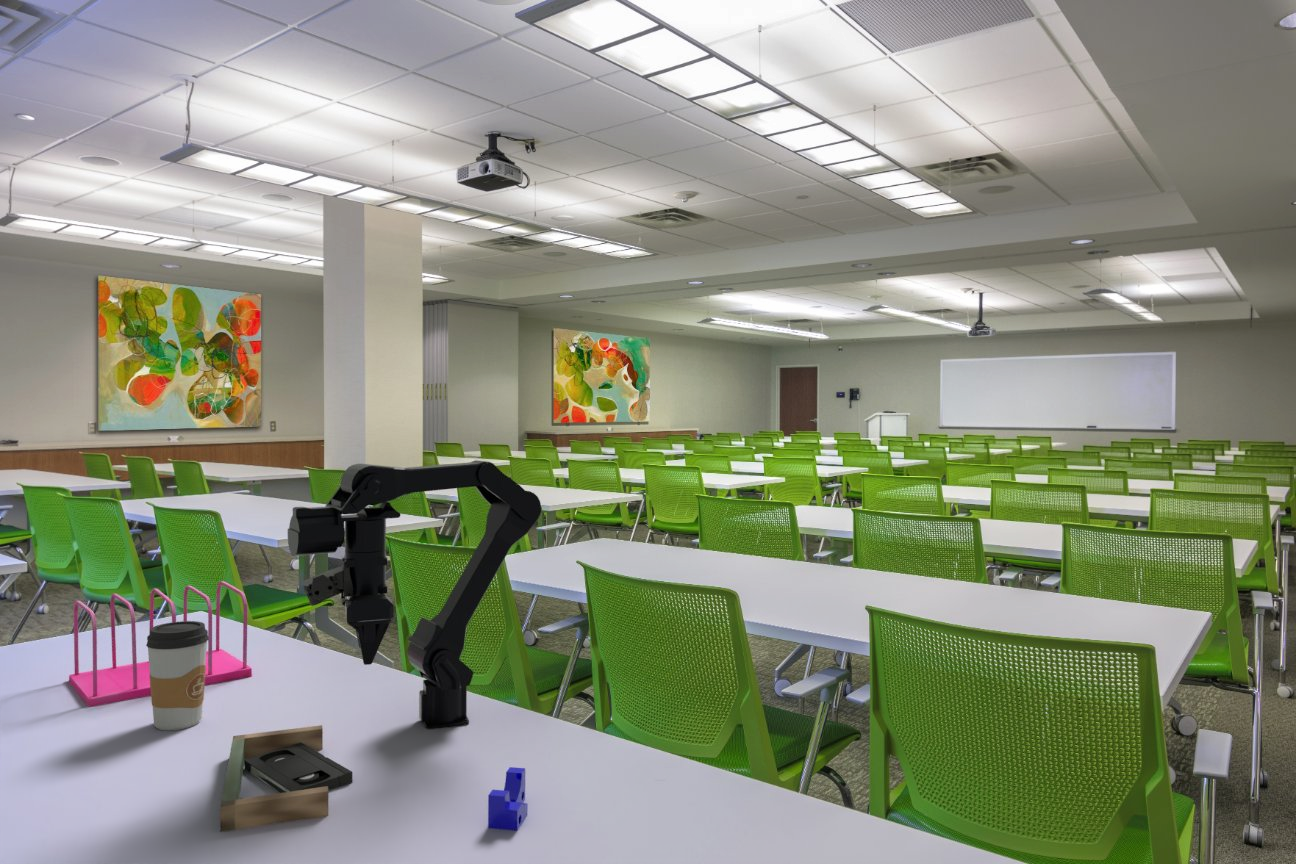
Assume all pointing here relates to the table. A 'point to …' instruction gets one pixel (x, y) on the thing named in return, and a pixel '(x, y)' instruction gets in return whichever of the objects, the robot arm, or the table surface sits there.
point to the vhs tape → (297, 769)
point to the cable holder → (508, 802)
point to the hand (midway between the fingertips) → (365, 655)
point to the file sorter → (135, 676)
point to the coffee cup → (177, 673)
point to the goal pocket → (274, 805)
